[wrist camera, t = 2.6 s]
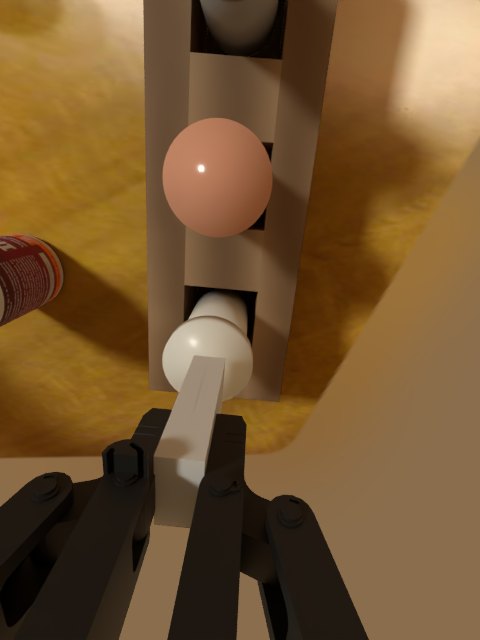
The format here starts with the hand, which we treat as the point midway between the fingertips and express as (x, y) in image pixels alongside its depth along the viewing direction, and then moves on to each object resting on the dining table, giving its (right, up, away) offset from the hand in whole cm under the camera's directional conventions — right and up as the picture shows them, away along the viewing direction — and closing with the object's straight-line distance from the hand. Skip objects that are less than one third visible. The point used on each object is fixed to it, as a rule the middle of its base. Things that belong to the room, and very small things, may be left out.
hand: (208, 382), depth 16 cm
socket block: (+1, +13, +10) cm, 17 cm away
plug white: (0, +3, +9) cm, 10 cm away
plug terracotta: (+1, +12, +6) cm, 13 cm away
